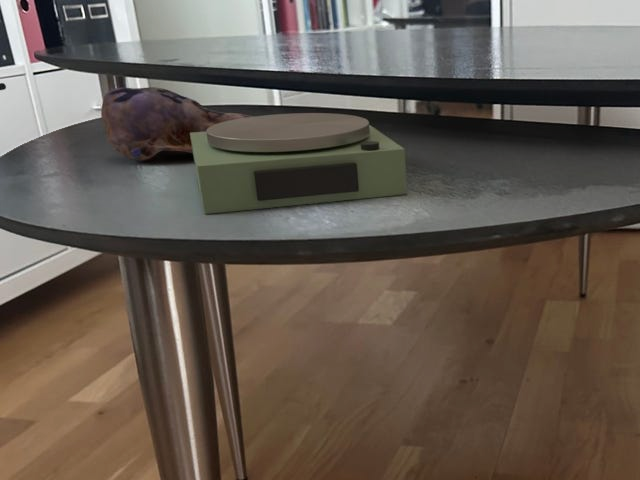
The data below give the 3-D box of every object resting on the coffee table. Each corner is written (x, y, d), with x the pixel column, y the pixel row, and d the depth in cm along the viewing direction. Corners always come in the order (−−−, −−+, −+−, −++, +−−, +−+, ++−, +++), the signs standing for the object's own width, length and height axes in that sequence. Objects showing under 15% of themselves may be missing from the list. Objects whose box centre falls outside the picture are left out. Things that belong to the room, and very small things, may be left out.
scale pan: (204, 130, 62) (202, 119, 62) (352, 119, 65) (351, 109, 65) (212, 157, 53) (210, 144, 52) (386, 144, 56) (385, 131, 55)
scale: (196, 173, 64) (188, 127, 63) (365, 158, 68) (362, 114, 66) (205, 216, 52) (196, 160, 51) (408, 195, 56) (406, 143, 55)
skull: (271, 139, 73) (256, 66, 70) (248, 170, 67) (230, 92, 64) (136, 148, 74) (115, 76, 71) (100, 179, 68) (75, 102, 64)
